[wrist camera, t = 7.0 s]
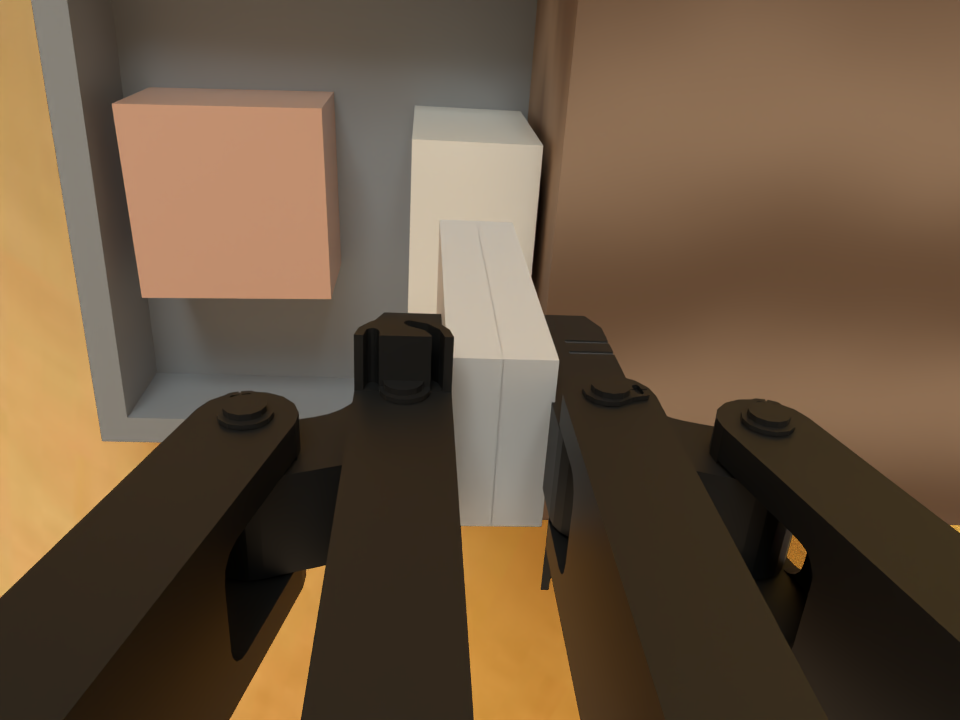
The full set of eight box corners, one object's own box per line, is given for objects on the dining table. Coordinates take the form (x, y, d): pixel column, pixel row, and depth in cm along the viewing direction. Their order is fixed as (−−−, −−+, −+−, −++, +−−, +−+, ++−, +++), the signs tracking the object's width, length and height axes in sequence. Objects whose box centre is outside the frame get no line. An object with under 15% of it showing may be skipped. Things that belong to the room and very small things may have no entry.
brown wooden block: (540, -69, 22) (586, -83, 16) (1000, -36, 23) (1218, -37, 17) (502, 394, 28) (525, 519, 22) (868, 403, 29) (992, 525, 23)
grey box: (74, -101, 21) (12, -113, 18) (540, -69, 22) (559, -75, 19) (140, 385, 27) (102, 441, 24) (502, 394, 28) (512, 449, 25)
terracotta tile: (321, 108, 20) (333, 91, 23) (111, 104, 20) (149, 87, 22) (330, 299, 22) (341, 263, 25) (141, 297, 22) (173, 261, 25)
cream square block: (520, 110, 23) (414, 105, 23) (543, 145, 19) (411, 139, 19) (507, 277, 25) (410, 273, 25) (525, 343, 21) (407, 340, 21)
